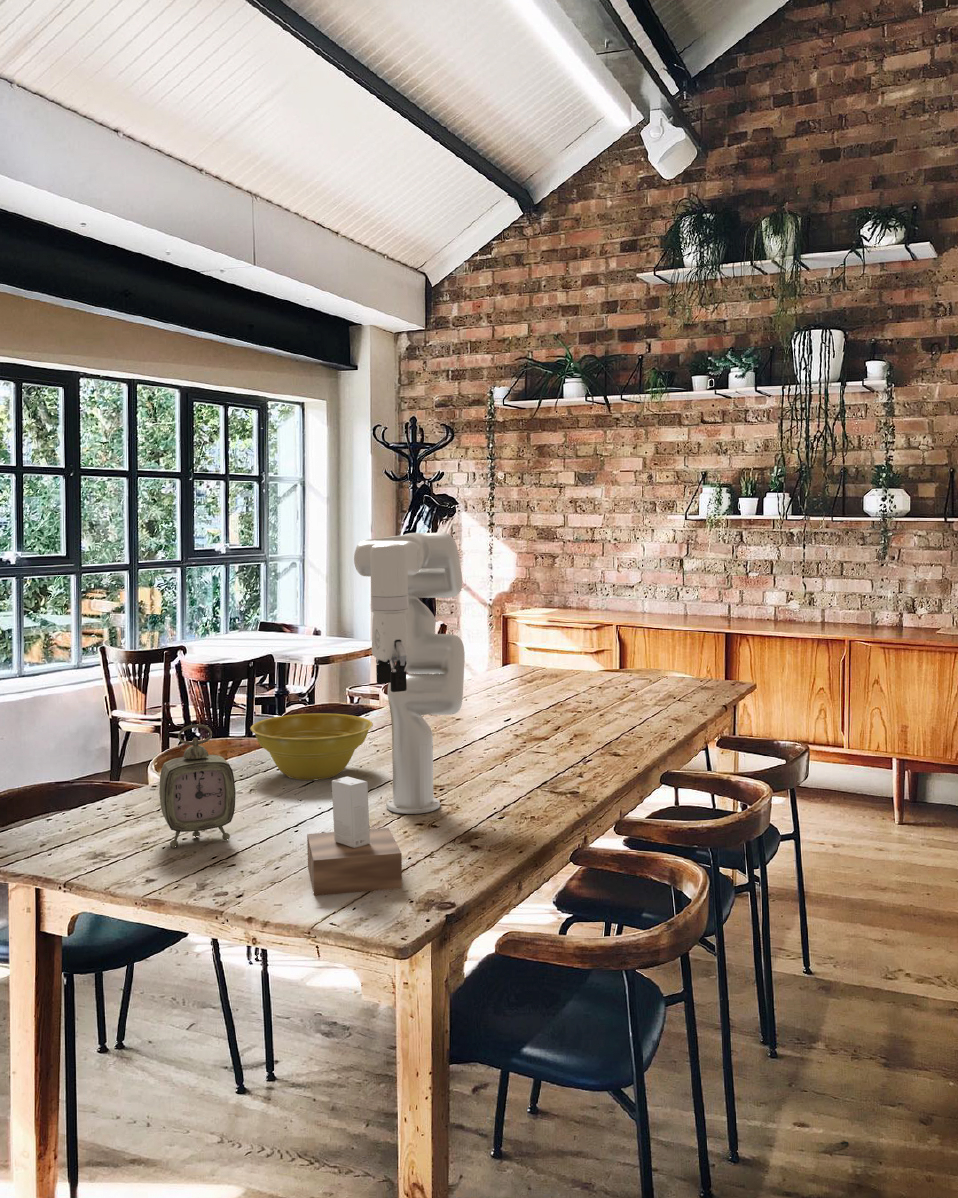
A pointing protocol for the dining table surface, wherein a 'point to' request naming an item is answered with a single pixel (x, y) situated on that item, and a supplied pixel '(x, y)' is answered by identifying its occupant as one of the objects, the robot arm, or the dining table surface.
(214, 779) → the tabletop clock
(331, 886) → the walnut block
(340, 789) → the skincare box
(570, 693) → the dining table surface
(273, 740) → the planter bowl
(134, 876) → the dining table surface
